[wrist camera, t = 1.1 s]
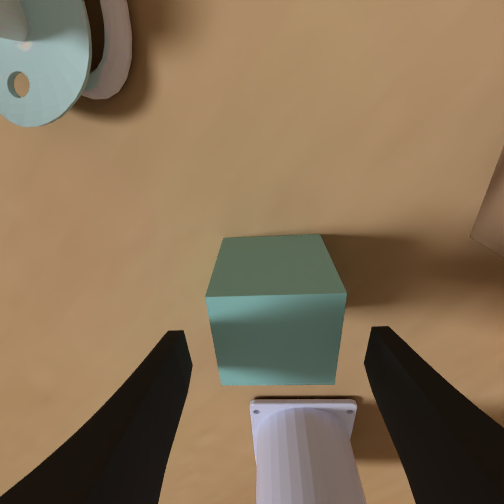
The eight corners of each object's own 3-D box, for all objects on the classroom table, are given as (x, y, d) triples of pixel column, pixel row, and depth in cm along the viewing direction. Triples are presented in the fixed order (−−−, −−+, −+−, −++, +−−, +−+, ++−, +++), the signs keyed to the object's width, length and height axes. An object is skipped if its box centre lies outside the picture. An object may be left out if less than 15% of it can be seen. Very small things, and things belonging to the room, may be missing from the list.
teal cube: (314, 308, 16) (334, 384, 11) (232, 310, 16) (221, 385, 12) (319, 233, 13) (346, 293, 9) (223, 237, 14) (205, 297, 9)
